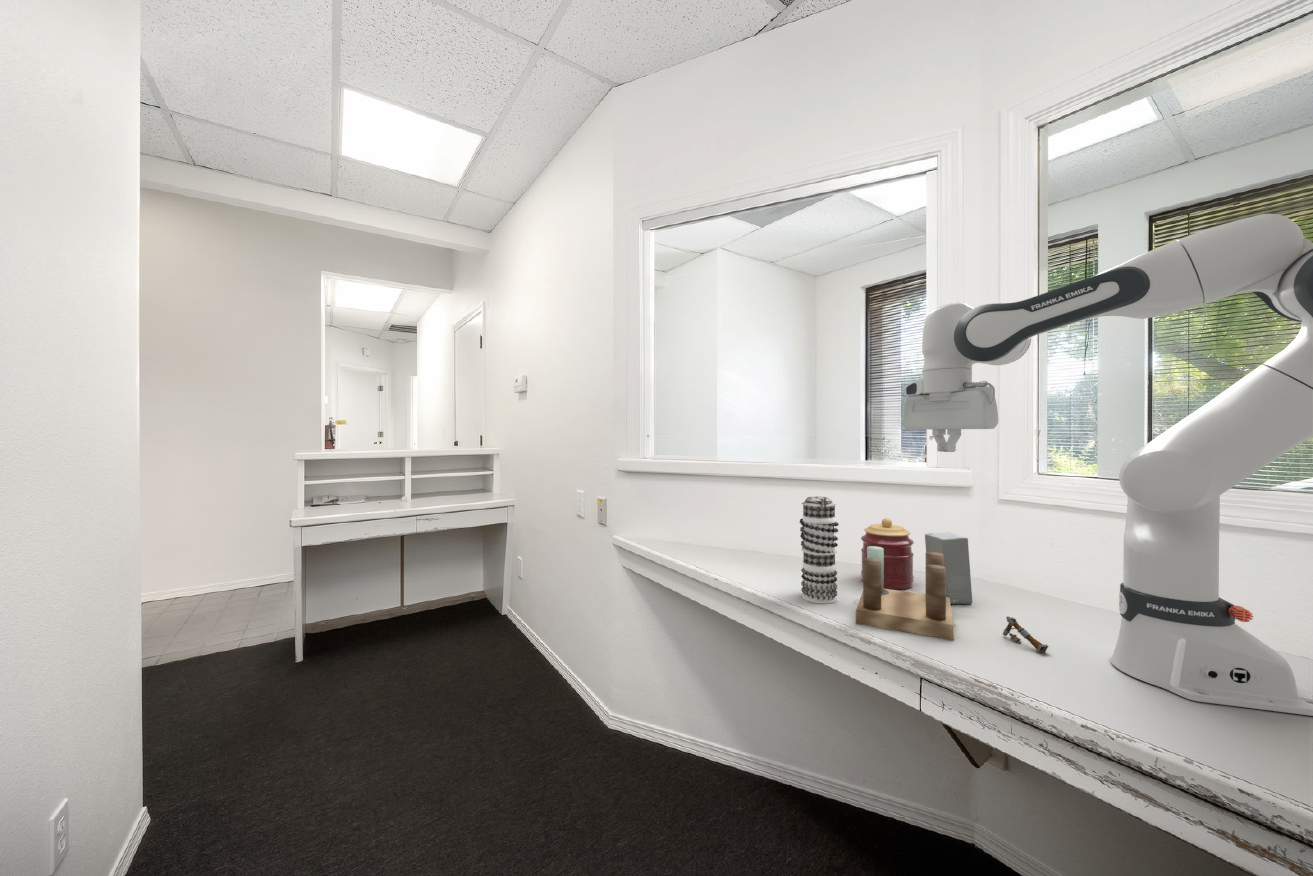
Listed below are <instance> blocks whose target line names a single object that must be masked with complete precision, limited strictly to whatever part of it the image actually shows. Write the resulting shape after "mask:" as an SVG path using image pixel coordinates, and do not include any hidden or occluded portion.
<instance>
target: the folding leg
mask: <svg viewBox="0 0 1313 876" xmlns="http://www.w3.org/2000/svg"><path fill="white" fill-rule="evenodd" d="M867 558H876V559H880V560H881V592H883V591H884V589H885V588H884V549H883V548H882V547H876V546H869V547H867Z"/></svg>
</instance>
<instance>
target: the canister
mask: <svg viewBox="0 0 1313 876" xmlns="http://www.w3.org/2000/svg"><path fill="white" fill-rule="evenodd" d="M863 531H864V532H865V534H863V535H862V536H861V537H860V539H861V540H860V541H862V548H861V549H860V552H861V570H860V572H861V573H860V577H861V579H862V580H861V581H863V559H864V558H867V547H869V546H876V547H882V548H883V549H884V589H890V590H907V589H910V588H912V587H913V585H914V581H915V579H914V577H915V576H914V552H913V550H912V546H913V545H914V544H915V542H914V540H913V539H911V538H910V535H911V532H910V531H908V530H907V529H905V527H904V526H902V525H896V524H893V522H892V520H891V519H890V518H887V517H884V518H883V519H882V520H881V523H875V524H874V523H873V524H870V525H869V526H867V527H865V528H864V530H863ZM911 586H912V587H911Z"/></svg>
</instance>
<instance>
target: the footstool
mask: <svg viewBox="0 0 1313 876" xmlns="http://www.w3.org/2000/svg"><path fill="white" fill-rule="evenodd" d="M862 583H863V584H862V587H863V588H862V589H863V590H862V593H861V595H860V598H859V601H858V603H857V606H856V608H855V624H857V623H860V624H859V625H863V624H865V625H864V626H869V625H870V626H869V627H876V628H880V627H882V628H881V629H886V628H887V629H888V630H894V631H899V632H905V633H909V632H912V633H911V634H915V633H917V634H916V635H921V634H923V635H922V636H927V635H928V636H929V637H933V636H935V637H934V638H938V637H940V638H939V639H944V640H945V639H946V640H951V641H954V639H955V638H954V626H955V625H954V621H953V620H954V618H953V613H952V607H951V606H952V605H951V604H950V598H949V597H946V568H945V567H944V554H941V553H937V552H926V551H925V593H920V592H919V593H918V592H912V591H904V590H899V589H885V588H884V591H883V592H881V560H880V559H876V558H864V559H863V580H862Z"/></svg>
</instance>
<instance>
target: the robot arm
mask: <svg viewBox="0 0 1313 876" xmlns="http://www.w3.org/2000/svg"><path fill="white" fill-rule="evenodd" d="M1244 293H1253V294H1254V295H1255V296H1256V297H1258V298H1259V299H1260V300H1261V301H1262V302H1263V303H1264V304H1265V305H1267V307H1268V308H1269V309H1270V310H1272V312H1274V313H1276V314H1277V315H1279V316H1280V317H1282V318H1284V319H1287V320H1290V321H1292V322H1297V323H1300V324H1301V325H1300V326H1301V327H1300V329H1299V332H1298V334H1297V335H1296V337H1295V338H1294V339H1293V340H1292V342H1290V343H1289V344H1288V345H1287V346H1286V348H1284V349H1283V350H1282V351H1280V352H1278V353H1277V354H1275V355H1273V357H1271V358H1269V359H1268V360H1266V361H1264V363H1262V364H1260V365H1259V366H1258V367H1256V368H1255V369H1253V370H1252V371H1251V372H1249V373H1248V374H1246V375H1245V376H1243V377H1242V378H1240V379H1239V380H1238V381H1236V382H1235V383H1234V384H1232V385H1230V387H1228V388H1227V389H1225V390H1223V391H1222V392H1220V394H1218V395H1217V396H1215V397H1214V398H1212V399H1211V400H1209V402H1207V403H1205V404H1204V405H1202V406H1201V407H1199V408H1198V409H1196V410H1195V411H1193V412H1192V413H1190V414H1189V415H1187V416H1186V417H1184V418H1183V419H1182V420H1179V422H1177V423H1176V424H1174V425H1173V426H1170V427H1169V428H1168V429H1167V430H1165V431H1164V432H1163V433H1161V434H1159V435H1158V436H1156V437H1155V438H1153V439H1152V440H1150V441H1149V442H1147V443H1146V444H1145V445H1143V446H1142V447H1140V448H1139V449H1137V450H1136V451H1135V452H1133V453H1132V454H1130V456H1129V455H1128V457H1127V458H1126V459H1125V461H1123V463H1122V464H1121V467H1120V469H1119V474H1118V480H1119V484H1120V488H1121V489H1122V491H1123V493H1124V494H1125V495H1126V496H1127V504H1126V516H1125V517H1126V518H1125V527H1124V535H1123V563H1122V564H1123V569H1122V570H1123V572H1122V573H1123V574H1122V575H1123V579H1122V580H1123V581H1122V582H1121V583H1120V585H1119V592H1118V610H1119V615H1120V616H1121V620H1120V626H1119V632H1118V636H1117V640H1116V643H1115V647H1114V650H1113V652H1112V654H1111V656H1110V659H1109V660H1110V662H1111V664H1112V665H1113V666H1114V667H1115V668H1116V669H1118V670H1119V671H1121V672H1122V673H1125V674H1127V675H1129V676H1131V677H1133V678H1135V679H1138V680H1140V681H1143V682H1145V683H1148V684H1151V685H1154V686H1157V687H1160V688H1162V689H1164V690H1167V691H1170V692H1171V693H1174V694H1176V695H1178V696H1180V697H1183V698H1184V699H1186V700H1187V699H1188V700H1191V701H1195V702H1200V703H1201V702H1202V703H1208V704H1215V705H1216V704H1217V705H1225V706H1231V707H1241V708H1247V709H1248V708H1249V709H1257V710H1263V711H1264V710H1265V711H1270V712H1271V711H1273V712H1280V713H1288V714H1295V715H1296V714H1297V715H1304V716H1309V717H1310V716H1312V717H1313V695H1312V694H1310V692H1308V691H1307V690H1305V689H1304V688H1302V687H1300V686H1299V685H1297V682H1296V678H1295V675H1294V671H1293V670H1292V667H1291V665H1290V664H1289V662H1288V661H1287V660H1286V659H1285V658H1284V657H1283V656H1282V655H1281V654H1280V653H1279V652H1277V651H1276V650H1274V649H1273V648H1272V647H1270V646H1269V645H1267V643H1264V642H1263V641H1262V640H1260V639H1259V638H1257V637H1256V636H1254V635H1253V634H1252V633H1250V632H1248V631H1247V630H1245V629H1244V628H1242V627H1241V626H1239V625H1238V624H1236V622H1235V621H1236V620H1237V621H1239V622H1242V623H1249V622H1251V621H1252V620H1253V618H1254V616H1253V613H1252V612H1251V611H1250V610H1248V609H1246V608H1244V606H1240V605H1235V604H1233V603H1231V602H1229V601H1227V600H1225V599H1223V598H1221V596H1219V594H1220V519H1221V518H1220V516H1221V515H1220V513H1221V512H1220V510H1221V495H1223V494H1224V493H1226V492H1227V491H1229V490H1231V489H1232V488H1233V487H1235V486H1237V485H1238V484H1240V483H1241V482H1243V481H1244V480H1246V479H1248V478H1249V477H1251V476H1252V475H1254V474H1256V473H1257V472H1259V471H1261V470H1262V469H1263V468H1265V467H1266V466H1268V465H1270V464H1271V463H1272V462H1274V461H1276V460H1277V459H1278V458H1280V457H1282V456H1283V455H1285V454H1286V453H1288V452H1290V451H1291V450H1292V449H1295V448H1296V447H1298V446H1299V445H1302V444H1303V443H1304V442H1306V441H1308V440H1310V439H1312V438H1313V242H1312V241H1311V240H1309V239H1307V237H1306V238H1305V236H1304V233H1303V231H1302V229H1301V228H1300V226H1299V225H1298V224H1297V223H1296V222H1295V221H1294V220H1293V219H1290V218H1289V217H1287V216H1285V215H1282V214H1276V213H1263V214H1257V215H1253V216H1249V217H1245V218H1241V219H1238V220H1234V221H1231V222H1227V223H1224V224H1220V225H1217V226H1213V227H1210V228H1207V229H1204V230H1201V231H1198V232H1196V233H1192V234H1189V235H1187V236H1184V237H1182V238H1179V239H1176V240H1174V241H1171V242H1169V243H1165V244H1164V245H1161V246H1158V247H1156V248H1154V249H1151V250H1150V251H1149V250H1148V251H1147V252H1145V253H1142V254H1140V255H1138V256H1136V257H1134V258H1131V259H1129V260H1128V261H1125V262H1123V263H1121V264H1119V265H1117V266H1114V267H1111V268H1110V269H1107V270H1104V271H1103V272H1100V273H1098V274H1096V275H1093V276H1091V277H1088V278H1085V279H1081V280H1079V281H1077V282H1076V281H1075V282H1072V283H1070V284H1067V285H1064V286H1061V287H1059V288H1056V289H1053V290H1049V291H1047V292H1044V293H1041V294H1038V295H1035V296H1033V297H1029V298H1026V299H1023V300H1020V301H1014V302H1006V303H1002V302H1000V303H987V304H982V305H978V306H976V307H973V306H970V305H969V304H967V303H965V302H955V303H949V304H945V305H941V306H939V307H936V308H935V309H933V310H932V311H929V313H928V314H927V316H926V317H925V320H924V322H923V329H922V342H921V345H922V346H921V348H922V350H921V351H922V355H923V359H924V360H923V361H924V363H923V367H922V369H921V371H922V372H921V373H922V374H921V377H919V378H917V379H916V380H915V381H913V382H910V383H909V384H907V385H905V386H904V387H903V389H902V395H903V396H904V397H905V398H904V400H903V403H902V413H901V414H902V416H901V417H902V425H903V427H904V428H905V430H908V431H909V430H910V431H913V430H915V431H916V430H921V431H922V430H931V431H932V437H933V438H934V440H935V443H936V444H937V445H936V446H937V447H936V450H937V451H938V452H939V453H942V452H945V453H956V451H957V449H956V448H957V443H958V441H959V439H960V437H962V430H994V429H996V427H997V426H998V424H999V411H998V405H997V399H996V389H995V386H994V385H993V384H992V383H990V382H988V381H987V380H981V381H973V365H974V364H975V365H976V364H983V365H984V364H986V365H990V366H1004V365H1008V364H1011V363H1014V362H1016V361H1017V360H1020V359H1022V357H1023V356H1024V355H1025V354H1026V353H1027V351H1028V350H1029V348H1030V346H1031V342H1032V337H1034V336H1038V335H1041V334H1044V333H1047V332H1050V331H1053V330H1057V329H1060V328H1064V327H1066V326H1070V325H1073V324H1076V323H1079V322H1081V321H1086V320H1090V319H1094V318H1100V317H1111V316H1112V317H1124V318H1132V319H1138V320H1141V319H1142V320H1144V319H1151V318H1156V317H1162V316H1166V315H1167V316H1168V315H1171V314H1176V313H1180V312H1184V311H1187V310H1191V309H1195V308H1198V307H1202V306H1203V305H1204V306H1205V305H1207V304H1211V303H1213V302H1216V301H1219V300H1223V299H1225V298H1228V297H1233V296H1237V295H1240V294H1244ZM946 432H947V433H946ZM945 435H947V436H948V438H947V440H946V438H945Z"/></svg>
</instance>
